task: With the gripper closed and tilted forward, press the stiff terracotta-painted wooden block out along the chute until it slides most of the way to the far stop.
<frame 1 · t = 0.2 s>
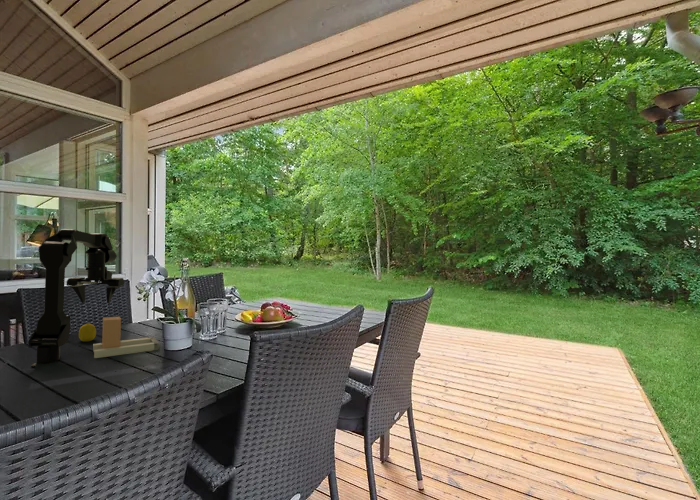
hand: (96, 303, 144), 15 cm above the table, tool pointing down, fingers open, 9 cm apart
jammed block: (111, 335, 127), point 7 cm above the table, slide at 0.0 cm
lemon: (87, 343, 139), on the table
chute: (125, 353, 130), on the table
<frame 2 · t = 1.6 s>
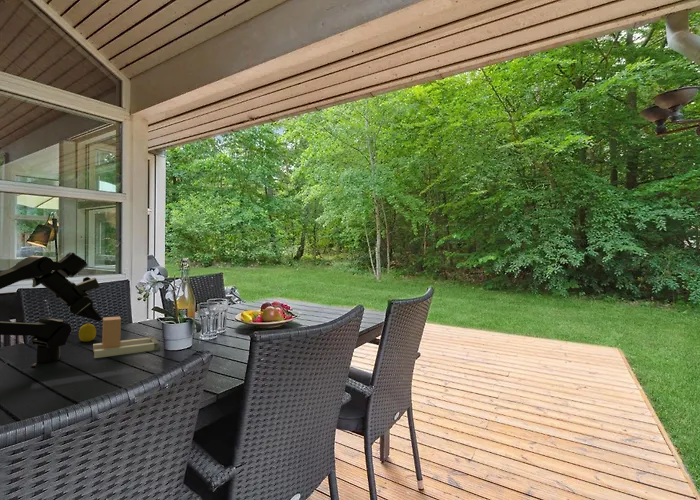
hand: (99, 317, 125), 14 cm above the table, tool tilted 45°, fingers open, 9 cm apart
nothing on the table moved.
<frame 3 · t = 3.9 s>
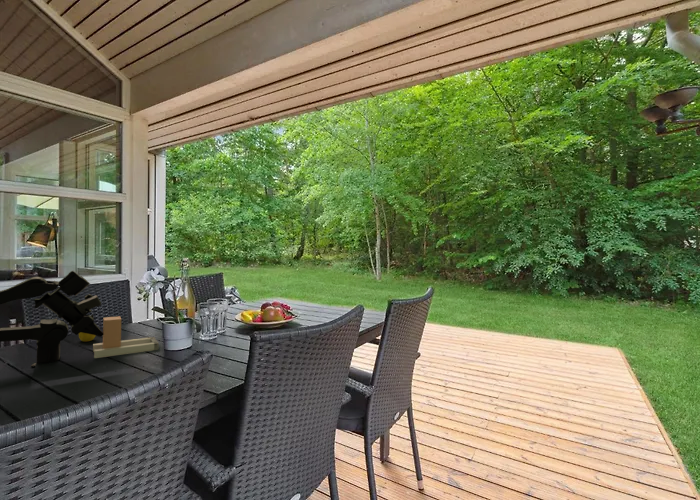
hand: (102, 335, 125), 8 cm above the table, tool tilted 45°, fingers closed, pressing on jammed block
jammed block: (111, 335, 127), point 7 cm above the table, slide at 0.1 cm, touching gripper
everything else where it was.
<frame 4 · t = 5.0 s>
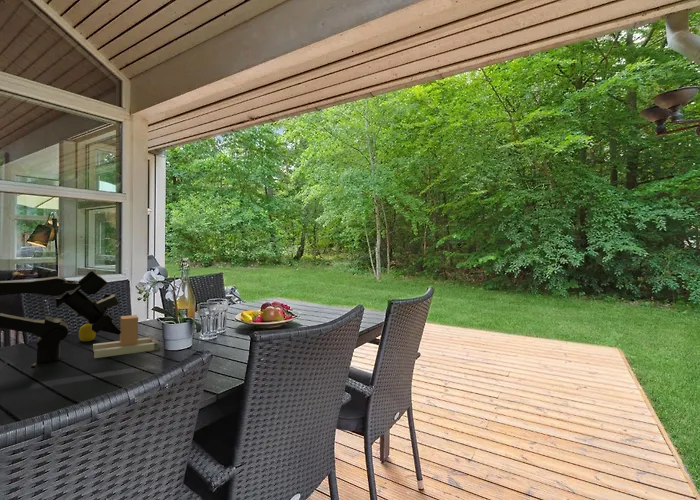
hand: (119, 333, 128), 8 cm above the table, tool tilted 45°, fingers closed, pressing on jammed block
jammed block: (128, 333, 130), point 7 cm above the table, slide at 5.3 cm, touching gripper
everything else where it was.
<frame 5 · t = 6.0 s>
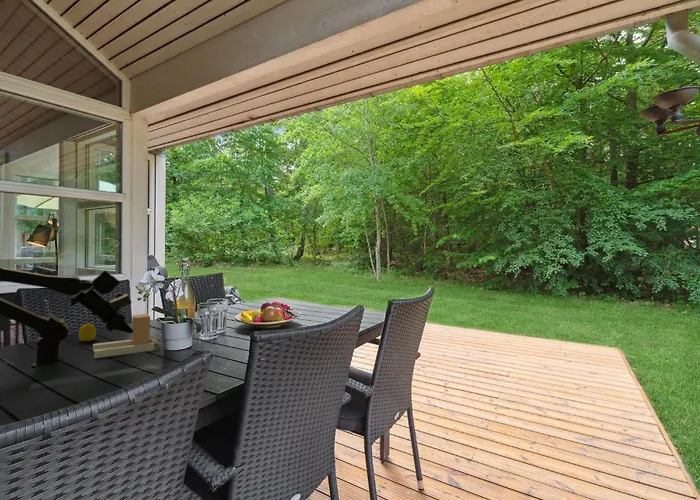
hand: (132, 332, 131), 8 cm above the table, tool tilted 45°, fingers closed, pressing on jammed block
jammed block: (140, 332, 133), point 7 cm above the table, slide at 9.1 cm, touching gripper
everything else where it was.
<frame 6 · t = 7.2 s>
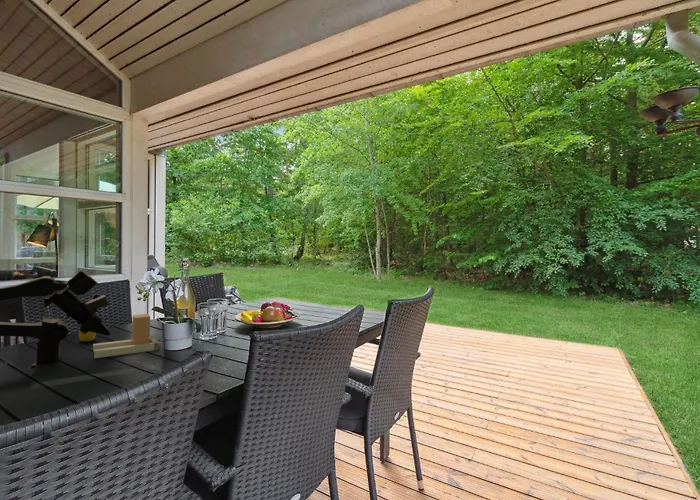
hand: (109, 334, 127), 8 cm above the table, tool tilted 45°, fingers closed
jammed block: (140, 332, 133), point 7 cm above the table, slide at 9.1 cm
everything else where it was.
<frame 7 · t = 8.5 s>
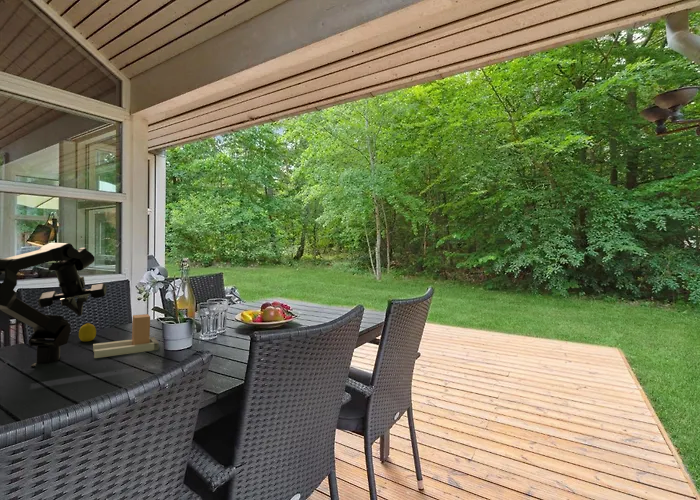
hand: (80, 315, 129), 13 cm above the table, tool tilted 20°, fingers closed
nothing on the table moved.
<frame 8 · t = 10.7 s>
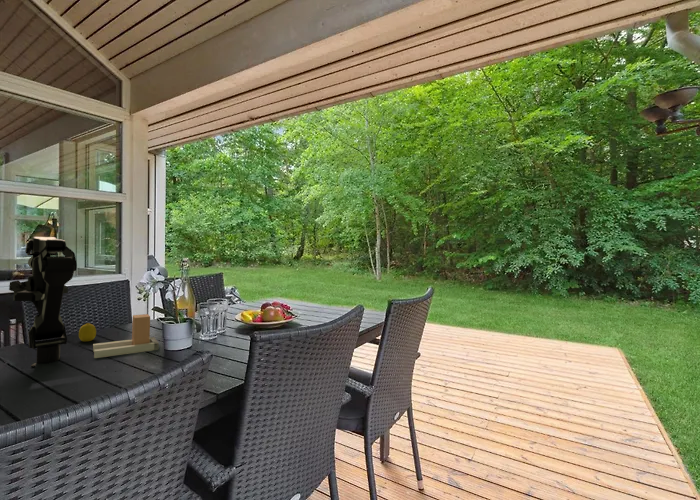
hand: (42, 317, 125), 13 cm above the table, tool pointing down, fingers closed
nothing on the table moved.
at the end: jammed block slide at 9.1 cm; lemon moved 0.2 cm from its start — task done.
